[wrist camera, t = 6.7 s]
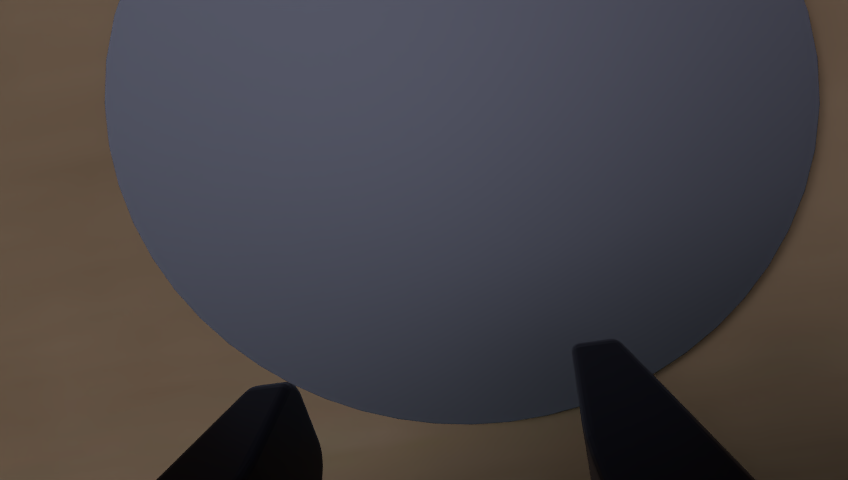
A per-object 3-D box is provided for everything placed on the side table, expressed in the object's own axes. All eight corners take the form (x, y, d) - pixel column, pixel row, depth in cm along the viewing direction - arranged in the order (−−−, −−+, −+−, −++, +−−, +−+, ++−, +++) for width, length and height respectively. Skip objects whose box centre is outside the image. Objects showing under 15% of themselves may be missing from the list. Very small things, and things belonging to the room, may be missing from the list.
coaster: (939, 187, 12) (952, 199, 11) (430, 487, 16) (429, 504, 15) (496, -472, 8) (497, -479, 8) (-18, 125, 12) (-31, 135, 12)
